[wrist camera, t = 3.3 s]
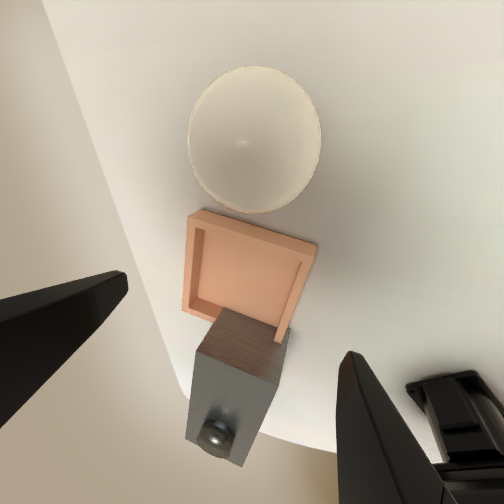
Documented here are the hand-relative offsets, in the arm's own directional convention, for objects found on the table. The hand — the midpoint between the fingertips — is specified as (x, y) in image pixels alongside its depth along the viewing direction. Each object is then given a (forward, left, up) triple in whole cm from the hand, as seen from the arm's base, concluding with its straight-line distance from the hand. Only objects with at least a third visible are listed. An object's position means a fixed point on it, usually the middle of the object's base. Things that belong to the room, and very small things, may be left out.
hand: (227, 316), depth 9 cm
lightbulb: (+5, -3, -14) cm, 15 cm away
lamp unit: (-12, +18, -14) cm, 25 cm away
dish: (-2, +8, -14) cm, 16 cm away
